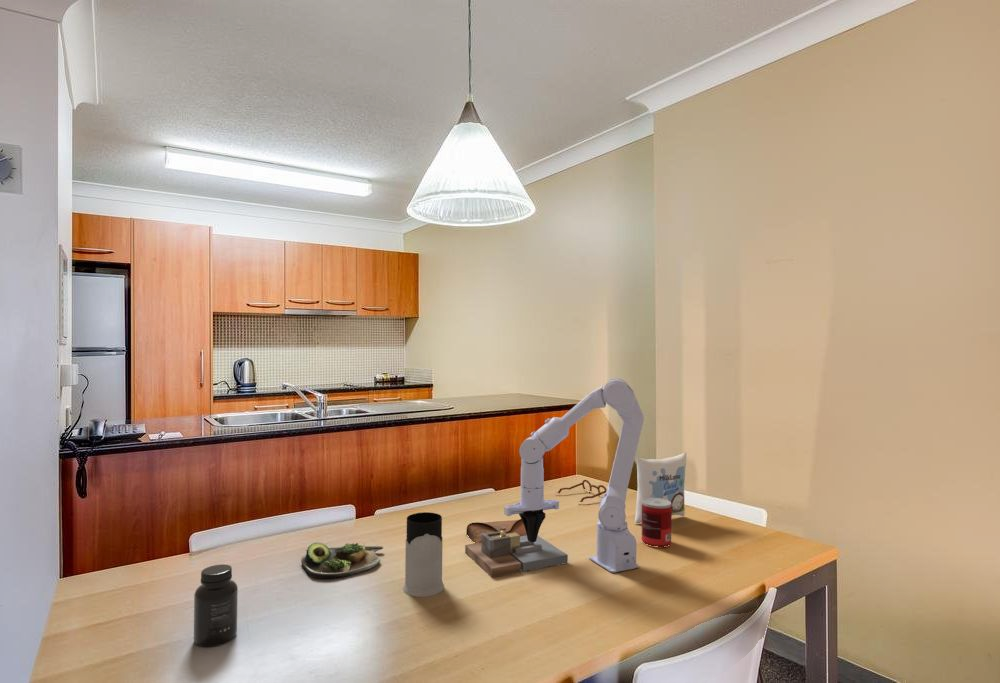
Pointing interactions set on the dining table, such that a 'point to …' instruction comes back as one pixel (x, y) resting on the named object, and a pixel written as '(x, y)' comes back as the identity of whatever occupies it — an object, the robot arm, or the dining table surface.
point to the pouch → (661, 482)
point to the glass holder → (423, 555)
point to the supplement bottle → (215, 607)
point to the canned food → (656, 521)
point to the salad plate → (338, 559)
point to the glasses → (584, 488)
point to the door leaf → (538, 554)
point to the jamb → (494, 555)
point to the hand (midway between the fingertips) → (531, 540)
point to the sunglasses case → (494, 528)
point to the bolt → (514, 539)
